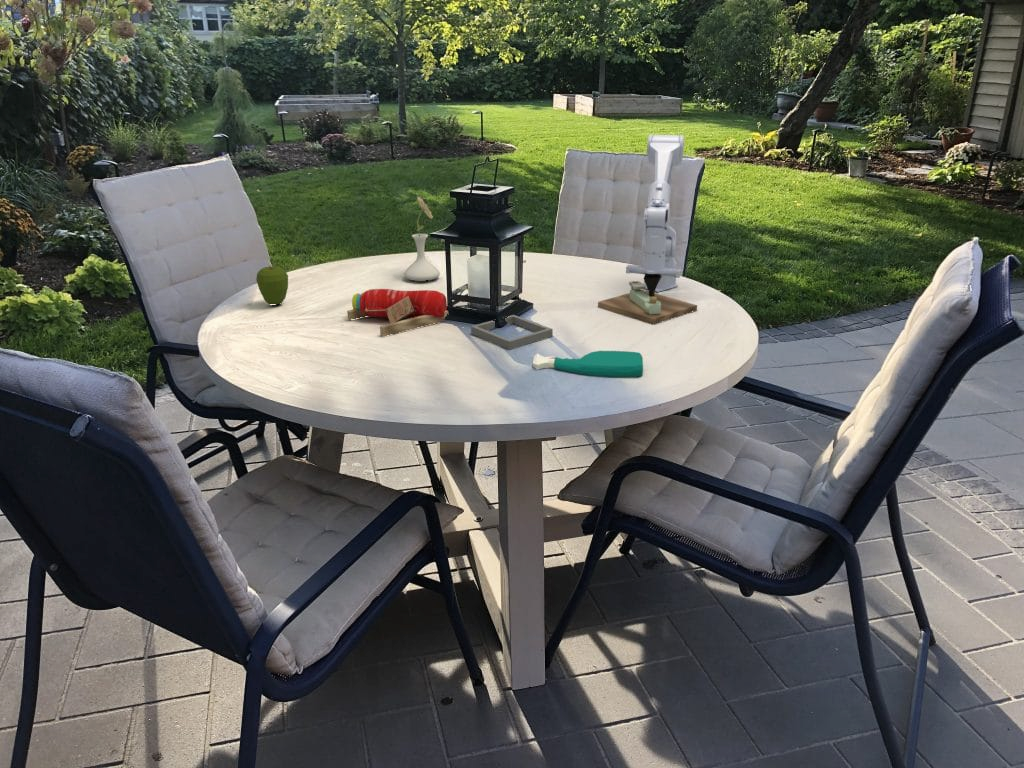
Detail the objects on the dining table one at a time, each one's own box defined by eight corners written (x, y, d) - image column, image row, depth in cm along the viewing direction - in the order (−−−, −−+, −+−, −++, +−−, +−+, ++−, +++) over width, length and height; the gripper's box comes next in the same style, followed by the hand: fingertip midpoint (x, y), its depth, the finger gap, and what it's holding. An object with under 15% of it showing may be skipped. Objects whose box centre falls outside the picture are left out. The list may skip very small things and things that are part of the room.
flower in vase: (438, 284, 237) (434, 201, 227) (401, 284, 237) (396, 201, 228) (442, 272, 249) (439, 194, 239) (407, 272, 249) (402, 194, 240)
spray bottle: (642, 380, 168) (530, 376, 171) (641, 362, 178) (535, 358, 181) (643, 368, 167) (530, 364, 170) (642, 350, 177) (535, 347, 180)
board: (641, 294, 226) (642, 275, 223) (696, 310, 211) (698, 290, 209) (597, 307, 215) (598, 287, 213) (653, 324, 201) (655, 303, 199)
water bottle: (436, 304, 195) (341, 300, 199) (439, 332, 199) (346, 328, 203) (447, 283, 205) (356, 280, 209) (449, 310, 209) (361, 307, 213)
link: (662, 313, 204) (663, 304, 203) (648, 314, 203) (648, 305, 202) (641, 297, 217) (641, 289, 216) (627, 298, 216) (628, 290, 215)
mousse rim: (513, 322, 203) (513, 314, 203) (552, 336, 193) (552, 329, 192) (471, 333, 195) (471, 326, 194) (509, 349, 185) (509, 341, 184)
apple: (267, 311, 213) (262, 271, 208) (254, 305, 219) (248, 265, 214) (296, 305, 218) (292, 265, 214) (283, 298, 224) (278, 259, 219)
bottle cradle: (411, 304, 218) (410, 296, 217) (448, 320, 205) (448, 311, 204) (348, 319, 206) (347, 310, 205) (383, 337, 193) (382, 327, 192)
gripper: (624, 252, 206) (621, 302, 211) (678, 257, 201) (674, 307, 206) (630, 247, 212) (627, 295, 217) (683, 251, 207) (679, 300, 212)
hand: (651, 300), depth 212 cm, fingers closed, pressing on link
